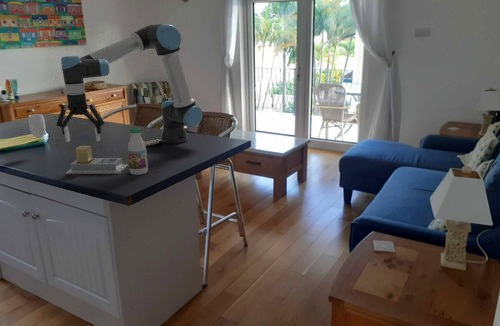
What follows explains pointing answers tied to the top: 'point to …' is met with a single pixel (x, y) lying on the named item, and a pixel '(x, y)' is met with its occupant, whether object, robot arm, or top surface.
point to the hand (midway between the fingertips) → (83, 141)
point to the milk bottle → (137, 153)
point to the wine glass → (37, 125)
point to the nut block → (84, 154)
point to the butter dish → (98, 166)
